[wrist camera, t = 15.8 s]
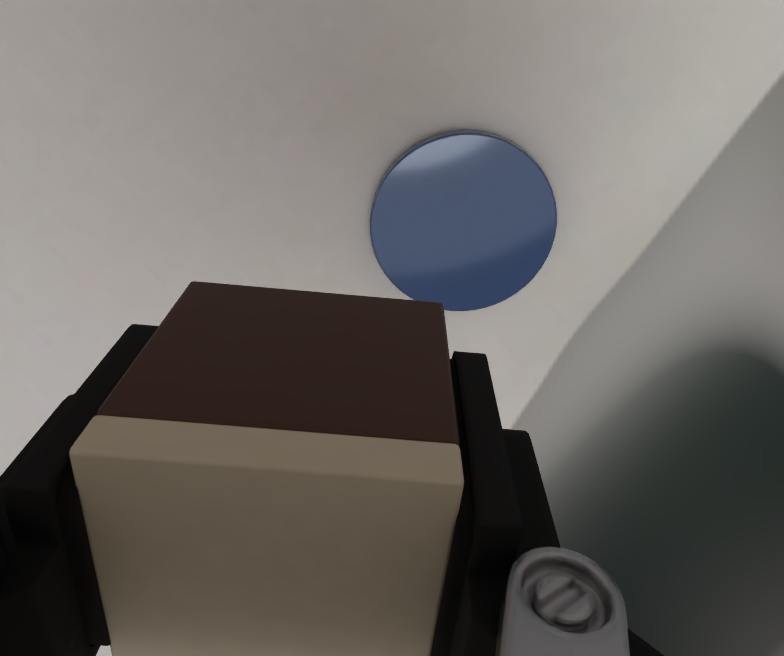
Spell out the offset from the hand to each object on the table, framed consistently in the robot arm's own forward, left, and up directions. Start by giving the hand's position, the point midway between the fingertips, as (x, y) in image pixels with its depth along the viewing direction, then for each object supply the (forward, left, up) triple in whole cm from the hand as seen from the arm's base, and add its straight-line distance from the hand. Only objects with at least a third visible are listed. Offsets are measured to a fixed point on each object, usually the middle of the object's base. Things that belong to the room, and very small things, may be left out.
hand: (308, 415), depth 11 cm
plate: (+2, +4, -17) cm, 18 cm away
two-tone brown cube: (0, 0, -1) cm, 1 cm away
